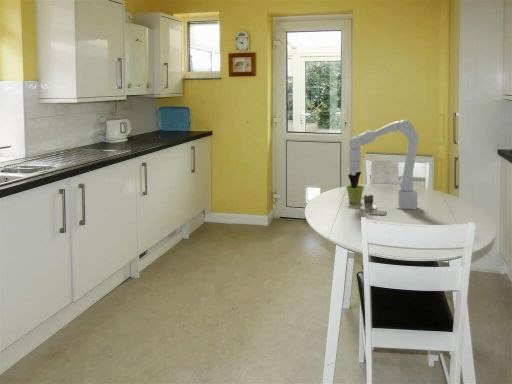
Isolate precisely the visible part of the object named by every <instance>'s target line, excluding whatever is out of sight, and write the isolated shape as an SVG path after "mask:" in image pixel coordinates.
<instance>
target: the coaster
mask: <svg viewBox="0 0 512 384" xmlns="http://www.w3.org/2000/svg"><path fill="white" fill-rule="evenodd" d="M369 214H371V215H370V216H382V215H383V217H384V216H385V217H386V216H387V211H386V210H376V211H374V210H368V215H369Z"/></svg>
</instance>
